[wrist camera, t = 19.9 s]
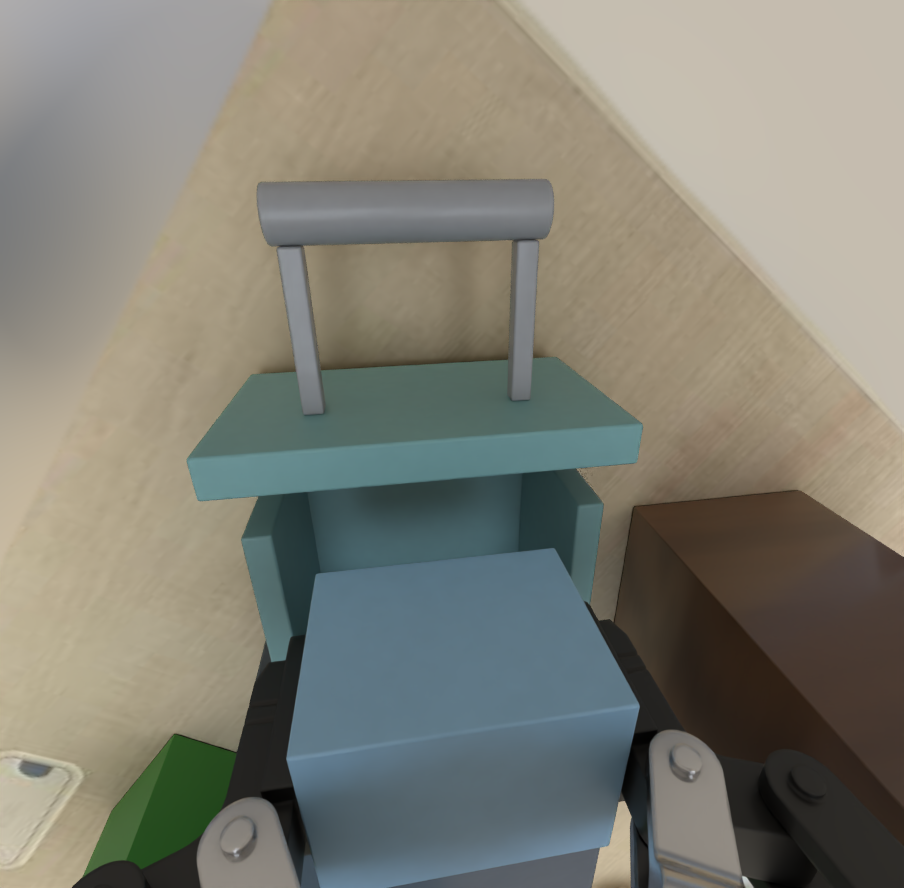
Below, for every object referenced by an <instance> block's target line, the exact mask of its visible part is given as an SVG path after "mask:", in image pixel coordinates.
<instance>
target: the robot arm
mask: <svg viewBox="0 0 904 888" xmlns="http://www.w3.org/2000/svg"><path fill="white" fill-rule="evenodd" d="M584 603H585V605H586V607H587V609H588V611H589V612H590V614H591V616H592V618H593V620H594V622H595V623H596V625H597V627H598V629H599V631H600V633H601V635H602V636H603V638H604V640H605V642H606V644H607V646H608V647H609V649H610V651H611V653H612V655H613V657H614V658H615V660H616V662H617V664H618V666H619V668H620V670H621V671H622V673H623V675H624V677H625V679H626V681H627V682H628V684H629V686H630V688H631V690H632V692H633V693H634V695H635V697H636V699H637V701H638V703H639V706H640V708H639V712H638V717H637V721H636V726H635V730H634V735H633V739H632V744H631V748H630V753H629V757H628V762H627V766H626V771H625V775H624V780H623V784H622V789H621V793H620V798H619V802H620V801H625V802H626V804H627V806H628V809H629V811H630V814H631V816H632V818H631V822H630V859H631V888H746V887H745V885H744V882H743V878H742V876H744V877H747V879H748V880H749V882H750V883H751V884H752V886H753V887H754V888H904V846H903V845H902V844H901V843H900V842H899V841H898V840H897V839H896V838H895V837H894V836H893V835H892V834H891V833H890V832H889V831H888V829H887V828H886V827H885V826H884V825H883V824H882V823H881V822H880V821H879V820H878V819H877V818H876V817H875V816H874V815H873V814H872V813H871V812H870V811H869V810H868V809H867V808H866V807H865V806H864V805H863V804H862V803H861V802H860V801H859V799H858V798H857V797H856V796H855V795H854V794H853V793H852V792H851V791H850V790H849V789H848V788H847V787H846V786H845V785H844V784H843V783H842V782H841V781H840V780H839V779H838V778H837V777H836V776H835V775H834V774H833V773H832V772H831V771H830V770H829V769H828V768H827V767H826V766H824V765H823V764H822V763H820V762H819V761H817V760H816V759H814V758H812V757H811V756H809V755H807V754H804V753H802V752H799V751H795V750H790V749H780V750H776V751H774V752H772V753H771V754H770V755H769V756H768V757H767V759H766V761H765V764H764V763H758V762H753V761H747V760H742V759H736V758H731V757H726V756H722V755H719V754H717V753H714V752H713V751H712V750H711V749H710V748H709V747H708V746H707V745H706V744H705V743H704V742H702V741H701V740H700V739H698V738H697V737H695V736H693V735H691V734H689V733H687V732H686V731H685V730H684V728H683V727H682V725H681V724H680V722H679V720H678V719H677V717H676V715H675V714H674V712H673V710H672V709H671V707H670V705H669V704H668V702H667V700H666V699H665V697H664V695H663V694H662V692H661V690H660V689H659V687H658V685H657V684H656V682H655V681H654V679H653V677H652V676H651V674H650V672H649V671H648V670H647V669H646V666H645V664H644V662H643V661H642V659H641V657H640V656H639V655H638V654H637V651H636V649H635V647H634V646H633V644H632V642H631V641H630V639H629V637H628V636H627V634H626V633H625V632H624V631H623V630H621V629H620V628H619V627H618V626H617V625H616V624H614V623H613V622H612V621H611V620H610V619H609V620H601V621H598V619H597V617H596V615H595V614H594V612H593V610H592V608H591V606H590V605H589V604H588V602H586V601H584ZM305 638H306V635H299V636H292V637H291V638H290V641H289V645H288V650H287V655H286V660H283V661H275V662H268V664H267V665H266V667H265V668H264V670H263V671H262V673H261V674H260V675H259V677H258V678H257V680H256V681H255V684H254V688H253V692H252V695H251V699H250V703H249V705H250V706H249V708H248V711H247V715H246V719H245V727H243V731H242V735H241V739H240V743H239V747H238V751H237V755H236V759H235V763H234V767H233V771H232V775H231V779H230V783H229V787H228V791H227V795H226V798H225V801H224V804H223V806H222V808H221V810H220V812H219V813H218V814H217V815H216V816H215V817H214V818H213V819H212V821H211V822H210V823H209V825H208V826H207V828H206V829H205V831H204V832H203V833H202V834H201V835H200V836H199V837H198V838H197V839H195V840H194V841H193V842H191V843H190V844H189V845H187V846H185V847H184V848H182V849H180V850H178V851H176V852H174V853H172V854H170V855H168V856H166V857H164V858H163V859H161V860H159V861H157V862H155V863H153V864H151V865H149V866H147V867H145V868H143V869H140V868H139V866H138V865H136V864H135V863H133V862H130V861H126V860H118V861H113V862H109V863H106V864H104V865H102V866H99V867H98V868H96V869H94V870H92V871H91V872H89V873H88V874H87V875H85V876H84V877H83V878H81V879H80V880H79V881H78V882H77V883H76V884H75V885H74V886H73V887H72V888H301V881H302V871H303V862H304V856H308V855H311V851H310V847H309V843H308V839H307V836H306V832H305V828H304V824H303V820H302V817H301V813H300V809H299V805H298V801H297V798H296V794H295V790H294V786H293V782H292V779H291V775H290V771H289V767H288V763H287V760H286V757H287V751H288V745H289V739H290V732H291V726H292V720H293V713H294V707H295V701H296V695H297V688H298V682H299V676H300V670H301V663H302V657H303V651H304V645H305Z"/></svg>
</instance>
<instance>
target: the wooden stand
mask: <svg viewBox="0 0 904 888" xmlns="http://www.w3.org/2000/svg"><path fill="white" fill-rule="evenodd" d="M614 624H616V625H617V626H618V627H619V628H620V629H621V630H623V631H624V632H625V633H626V634H627V636H628V637H629V639H630V641H631V642H632V644H633V646H634V647H635V649H636V651H637V654H638V655H639V656H640V657H641V659H642V661H643V662H644V664H645V666H646V669H647V670H648V671H649V672H650V674H651V676H652V677H653V679H654V681H655V682H656V684H657V685H658V687H659V689H660V690H661V692H662V694H663V695H664V697H665V699H666V700H667V702H668V704H669V705H670V707H671V709H672V710H673V712H674V714H675V715H676V717H677V719H678V720H679V722H680V724H681V725H682V727H683V728H684V730H685V731H686V732H687V733H689V734H691V735H693V736H695V737H697V738H698V739H700V740H701V741H702V742H704V743H705V744H706V745H707V746H708V747H709V748H710V749H711V750H712V751H713V752H714V753H717V754H719V755H722V756H726V757H731V758H736V759H742V760H747V761H753V762H758V763H764V764H765V761H766V759H767V757H768V756H769V755H770V754H771V753H772V752H774V751H776V750H780V749H790V750H795V751H799V752H802V753H804V754H807V755H809V756H811V757H812V758H814V759H816V760H817V761H819V762H820V763H822V764H823V765H824V766H826V767H827V768H828V769H829V770H830V771H831V772H832V773H833V774H834V775H835V776H836V777H837V778H838V779H839V780H840V781H841V782H842V783H843V784H844V785H845V786H846V787H847V788H848V789H849V790H850V791H851V792H852V793H853V794H854V795H855V796H856V797H857V798H858V799H859V801H860V802H861V803H862V804H863V805H864V806H865V807H866V808H867V809H868V810H869V811H870V812H871V813H872V814H873V815H874V816H875V817H876V818H877V819H878V820H879V821H880V822H881V823H882V824H883V825H884V826H885V827H886V828H887V829H888V831H889V832H890V833H891V834H892V835H893V836H894V837H895V838H896V839H897V840H898V841H899V842H900V843H901V844H902V845H903V846H904V557H903V556H901V555H899V554H898V553H896V552H895V551H893V550H892V549H890V548H889V547H887V546H885V545H884V544H882V543H881V542H879V541H878V540H876V539H875V538H873V537H872V536H870V535H868V534H867V533H865V532H864V531H862V530H861V529H859V528H858V527H856V526H855V525H853V524H851V523H850V522H848V521H847V520H845V519H844V518H842V517H841V516H839V515H837V514H836V513H834V512H833V511H831V510H830V509H828V508H827V507H825V506H824V505H822V504H820V503H819V502H817V501H816V500H814V499H813V498H811V497H810V496H808V495H807V494H805V493H803V492H802V491H789V492H779V493H769V494H759V495H748V496H738V497H728V498H718V499H708V500H698V501H688V502H678V503H668V504H658V505H648V506H638V507H634V510H633V516H632V522H631V527H630V533H629V539H628V545H627V551H626V557H625V563H624V569H623V575H622V581H621V587H620V592H619V598H618V604H617V610H616V616H615V622H614Z"/></svg>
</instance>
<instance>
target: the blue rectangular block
mask: <svg viewBox="0 0 904 888" xmlns="http://www.w3.org/2000/svg"><path fill="white" fill-rule="evenodd" d="M639 708H640V706H639V703H638V701H637V699H636V697H635V695H634V693H633V692H632V690H631V688H630V686H629V684H628V682H627V681H626V679H625V677H624V675H623V673H622V671H621V670H620V668H619V666H618V664H617V662H616V660H615V658H614V657H613V655H612V653H611V651H610V649H609V647H608V646H607V644H606V642H605V640H604V638H603V636H602V635H601V633H600V631H599V629H598V627H597V625H596V623H595V622H594V620H593V618H592V616H591V614H590V612H589V611H588V609H587V607H586V605H585V603H584V601H583V600H582V598H581V596H580V594H579V592H578V590H577V588H576V587H575V585H574V583H573V581H572V579H571V577H570V576H569V574H568V572H567V570H566V568H565V566H564V564H563V563H562V561H561V559H560V557H559V555H558V553H557V552H556V550H555V549H554V548H549V549H539V550H530V551H521V552H512V553H502V554H493V555H484V556H475V557H465V558H456V559H447V560H438V561H429V562H419V563H410V564H401V565H392V566H382V567H373V568H364V569H355V570H345V571H336V572H327V573H318V574H316V576H315V582H314V588H313V594H312V601H311V607H310V613H309V619H308V626H307V632H306V638H305V645H304V651H303V657H302V663H301V670H300V676H299V682H298V688H297V695H296V701H295V707H294V713H293V720H292V726H291V732H290V739H289V745H288V751H287V757H286V760H287V763H288V767H289V771H290V775H291V779H292V782H293V786H294V790H295V794H296V798H297V801H298V805H299V809H300V813H301V817H302V820H303V824H304V828H305V832H306V836H307V839H308V843H309V847H310V851H311V855H312V858H313V862H314V866H315V870H316V874H317V877H318V881H319V885H320V888H389V887H394V886H399V885H405V884H410V883H415V882H420V881H426V880H431V879H436V878H441V877H447V876H452V875H457V874H463V873H468V872H473V871H478V870H484V869H489V868H494V867H499V866H505V865H510V864H515V863H521V862H526V861H531V860H536V859H542V858H547V857H552V856H557V855H563V854H568V853H573V852H579V851H584V850H589V849H594V848H600V847H605V846H608V845H609V843H610V838H611V834H612V829H613V825H614V820H615V816H616V811H617V807H618V802H619V798H620V793H621V789H622V784H623V780H624V775H625V771H626V766H627V762H628V757H629V753H630V748H631V744H632V739H633V735H634V730H635V726H636V721H637V717H638V712H639Z"/></svg>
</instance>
